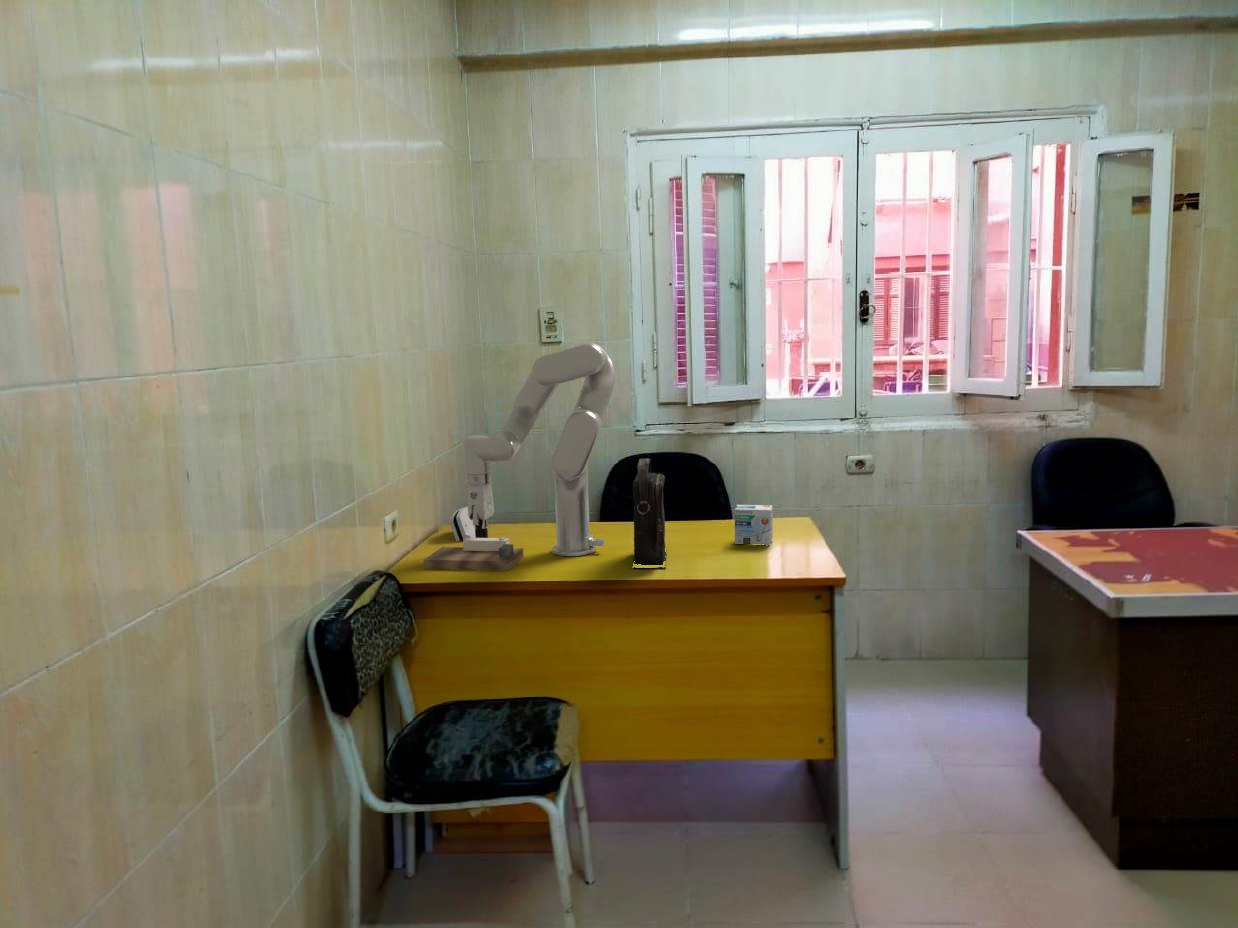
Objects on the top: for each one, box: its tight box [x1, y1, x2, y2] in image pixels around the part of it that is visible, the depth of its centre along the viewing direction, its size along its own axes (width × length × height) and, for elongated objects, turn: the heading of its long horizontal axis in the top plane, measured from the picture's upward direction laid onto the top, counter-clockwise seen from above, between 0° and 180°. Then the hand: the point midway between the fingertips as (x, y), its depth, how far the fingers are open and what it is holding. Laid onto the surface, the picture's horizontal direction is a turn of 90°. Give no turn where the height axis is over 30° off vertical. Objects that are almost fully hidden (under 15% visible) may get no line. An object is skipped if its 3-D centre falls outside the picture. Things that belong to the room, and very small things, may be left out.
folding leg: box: [462, 536, 510, 551], centre depth 246 cm, size 12×3×3 cm, turn 80°
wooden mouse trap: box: [423, 543, 524, 571], centre depth 242 cm, size 24×14×6 cm, turn 80°
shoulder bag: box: [632, 457, 668, 565], centre depth 240 cm, size 23×9×28 cm, turn 176°
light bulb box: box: [734, 504, 774, 545], centre depth 255 cm, size 11×7×11 cm, turn 76°
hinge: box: [449, 506, 476, 542], centre depth 275 cm, size 17×5×10 cm, turn 171°
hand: (481, 541), depth 252 cm, fingers closed
